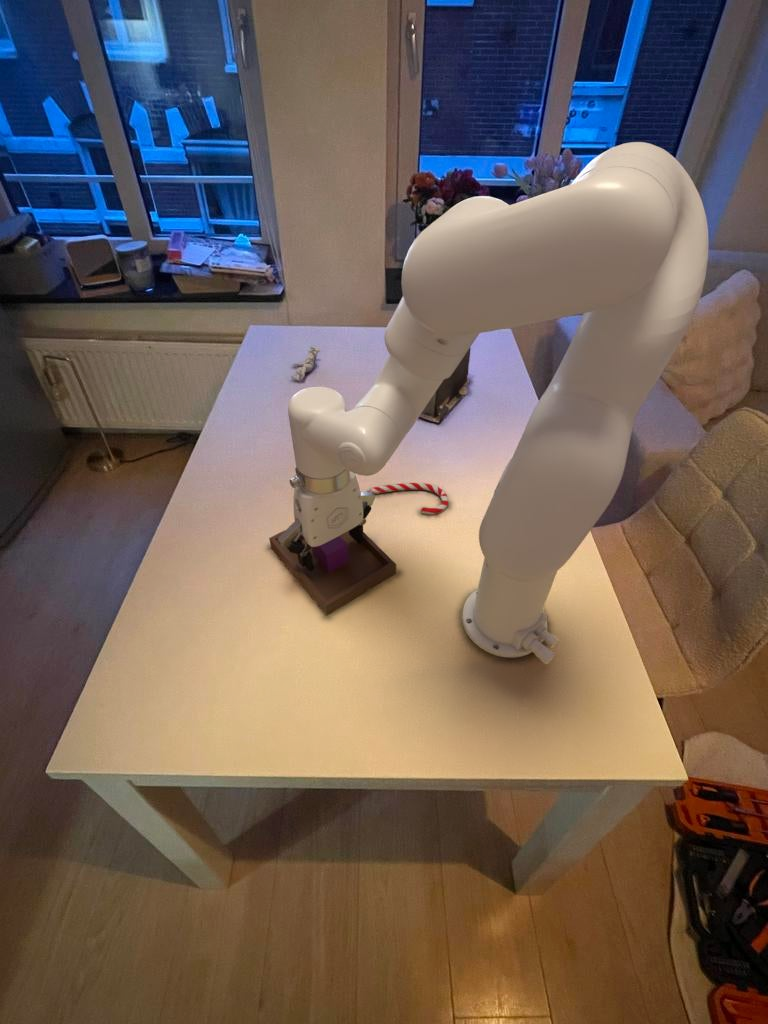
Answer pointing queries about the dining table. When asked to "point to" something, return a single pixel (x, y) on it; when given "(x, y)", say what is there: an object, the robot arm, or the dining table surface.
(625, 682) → the dining table surface
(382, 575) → the tray
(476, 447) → the dining table surface
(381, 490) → the candy cane
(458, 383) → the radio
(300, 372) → the soldier figure
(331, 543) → the cube
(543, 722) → the dining table surface
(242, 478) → the dining table surface
